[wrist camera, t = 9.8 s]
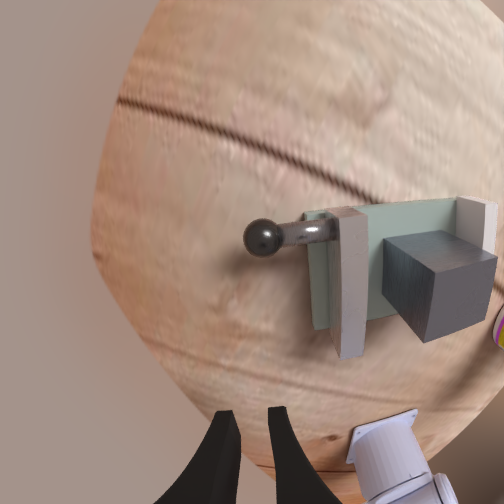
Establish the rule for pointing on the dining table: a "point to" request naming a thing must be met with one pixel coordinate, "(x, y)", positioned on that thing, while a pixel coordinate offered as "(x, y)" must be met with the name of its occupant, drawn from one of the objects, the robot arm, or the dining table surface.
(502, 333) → the supplement bottle
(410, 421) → the robot arm
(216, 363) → the dining table surface
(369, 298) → the base
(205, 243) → the dining table surface
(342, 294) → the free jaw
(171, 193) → the dining table surface
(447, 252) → the block
